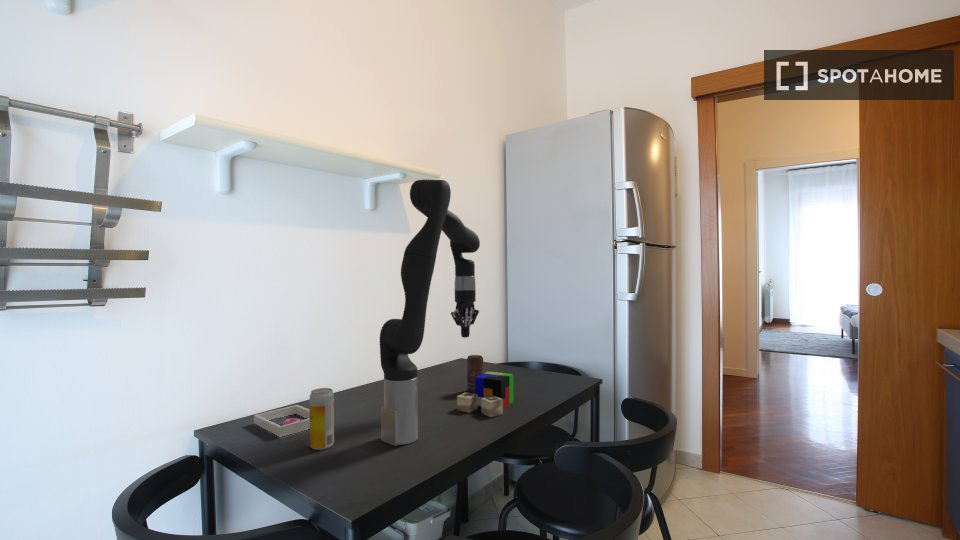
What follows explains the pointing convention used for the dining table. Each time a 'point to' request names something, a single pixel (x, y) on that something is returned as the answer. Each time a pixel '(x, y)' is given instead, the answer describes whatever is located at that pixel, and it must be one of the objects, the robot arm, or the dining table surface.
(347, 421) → the dining table surface
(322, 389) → the beer can
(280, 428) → the dish rim
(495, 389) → the puzzle toy
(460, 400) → the marked block
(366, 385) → the dining table surface
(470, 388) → the can
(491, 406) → the marked block
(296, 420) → the donut
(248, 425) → the dining table surface
